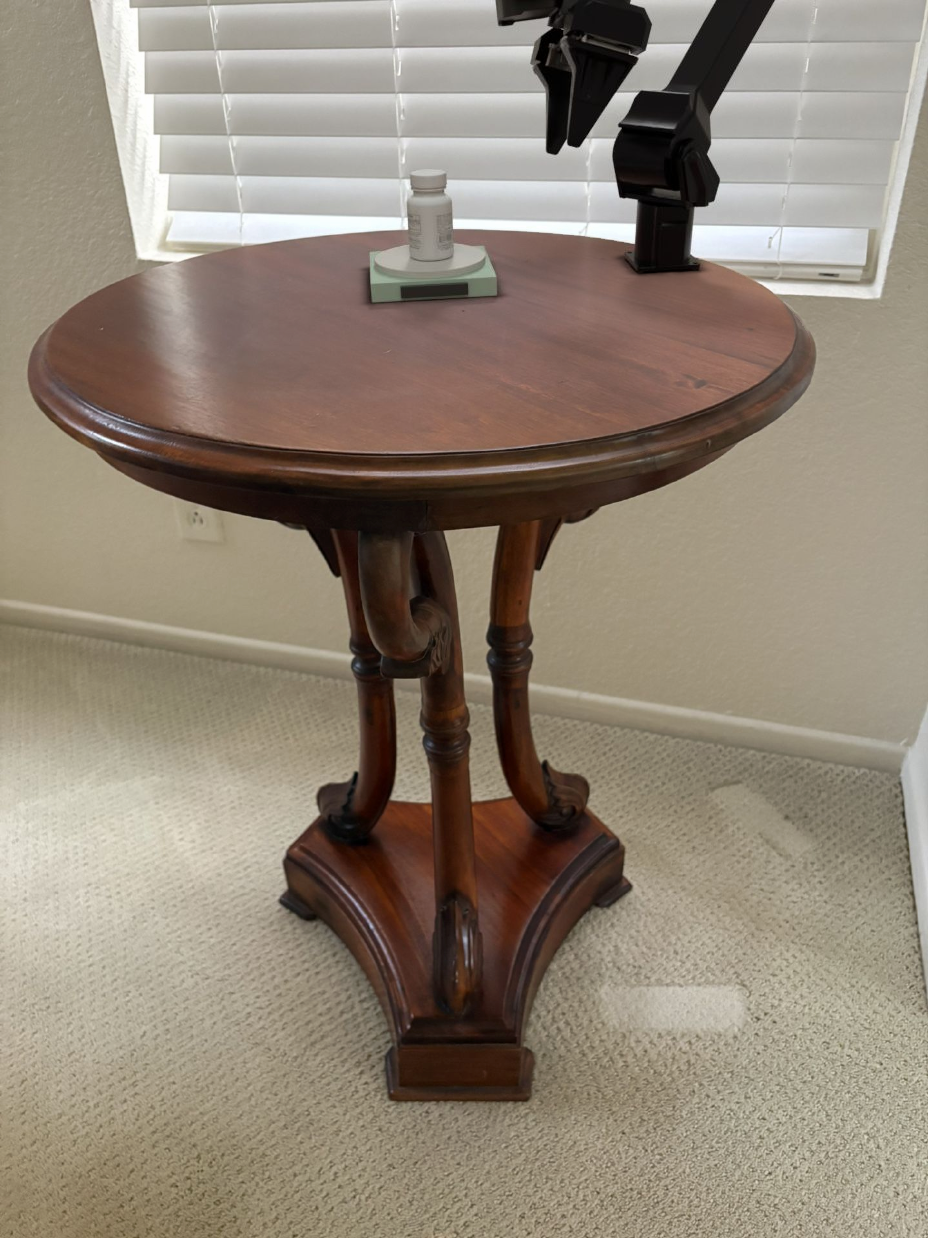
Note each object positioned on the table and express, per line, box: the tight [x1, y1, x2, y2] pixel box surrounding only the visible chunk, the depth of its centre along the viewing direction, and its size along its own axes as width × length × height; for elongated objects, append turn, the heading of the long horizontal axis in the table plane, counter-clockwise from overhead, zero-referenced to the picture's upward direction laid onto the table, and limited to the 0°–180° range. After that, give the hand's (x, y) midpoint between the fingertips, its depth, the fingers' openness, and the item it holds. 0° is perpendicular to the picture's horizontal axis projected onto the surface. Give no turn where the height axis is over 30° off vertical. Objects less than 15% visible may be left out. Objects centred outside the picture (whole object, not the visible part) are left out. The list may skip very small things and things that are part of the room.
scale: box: [369, 242, 498, 303], centre depth 100 cm, size 12×12×2 cm
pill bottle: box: [406, 168, 455, 261], centre depth 97 cm, size 4×4×8 cm
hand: (561, 150), depth 88 cm, fingers open, 9 cm apart
